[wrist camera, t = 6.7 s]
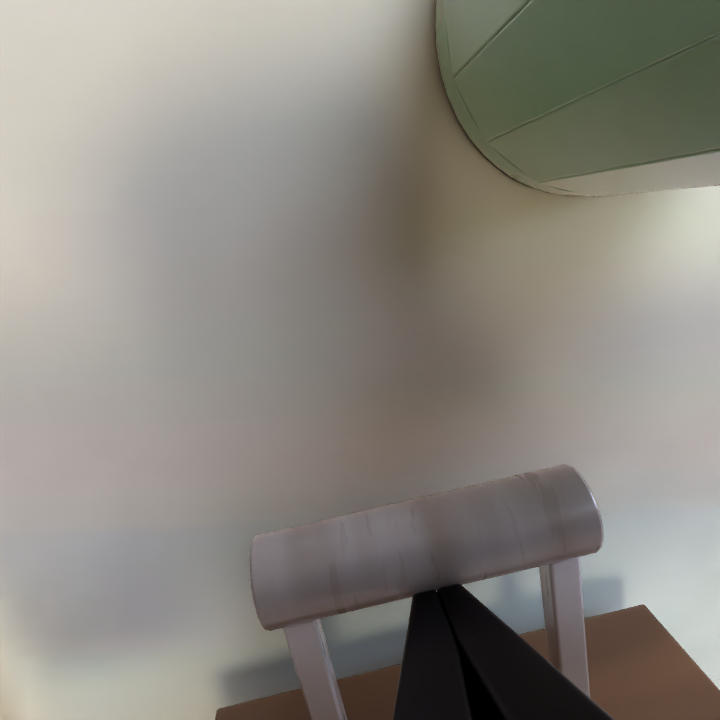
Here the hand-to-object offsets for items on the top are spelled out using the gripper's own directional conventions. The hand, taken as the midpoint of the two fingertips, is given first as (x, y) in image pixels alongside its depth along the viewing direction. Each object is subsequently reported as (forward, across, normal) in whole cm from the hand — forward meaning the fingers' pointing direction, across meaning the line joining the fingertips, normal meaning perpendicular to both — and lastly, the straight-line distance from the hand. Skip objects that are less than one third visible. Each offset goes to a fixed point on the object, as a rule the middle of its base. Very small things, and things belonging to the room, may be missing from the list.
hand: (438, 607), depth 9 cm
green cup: (+4, -6, -9) cm, 11 cm away
